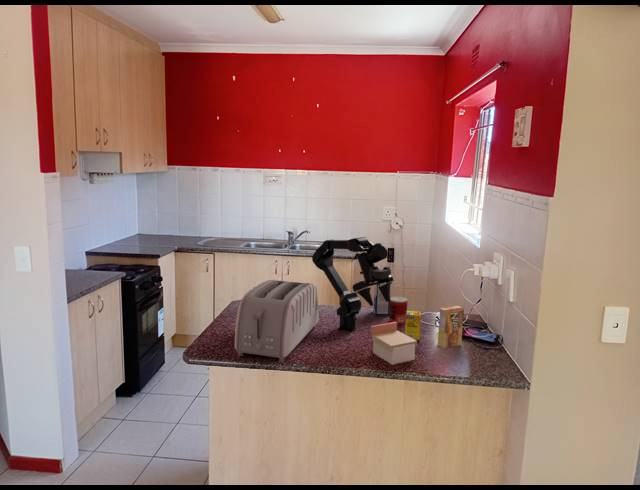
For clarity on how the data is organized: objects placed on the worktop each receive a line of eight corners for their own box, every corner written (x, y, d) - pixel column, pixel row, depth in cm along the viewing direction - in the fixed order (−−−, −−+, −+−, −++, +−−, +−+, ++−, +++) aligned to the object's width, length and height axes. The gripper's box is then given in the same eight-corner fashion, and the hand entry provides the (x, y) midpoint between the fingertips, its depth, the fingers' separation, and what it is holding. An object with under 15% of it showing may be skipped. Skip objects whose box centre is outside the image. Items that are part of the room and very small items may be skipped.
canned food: (408, 321, 215) (410, 298, 213) (402, 326, 208) (403, 302, 206) (393, 318, 219) (394, 295, 217) (386, 323, 212) (387, 299, 210)
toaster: (227, 360, 170) (226, 300, 166) (274, 321, 213) (274, 272, 209) (283, 368, 164) (284, 306, 160) (320, 326, 207) (321, 276, 203)
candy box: (454, 341, 191) (456, 305, 189) (461, 345, 188) (464, 308, 185) (436, 345, 188) (439, 307, 185) (444, 348, 184) (446, 311, 181)
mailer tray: (373, 352, 179) (373, 336, 178) (394, 348, 183) (395, 332, 182) (392, 365, 168) (392, 347, 167) (414, 360, 173) (415, 343, 172)
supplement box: (419, 341, 191) (421, 315, 189) (404, 340, 192) (405, 314, 190) (419, 336, 196) (421, 311, 194) (404, 335, 198) (406, 310, 196)
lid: (370, 339, 178) (371, 326, 177) (395, 335, 184) (395, 321, 183) (391, 352, 167) (391, 337, 166) (416, 346, 172) (417, 332, 171)
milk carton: (373, 311, 229) (374, 270, 225) (387, 311, 229) (389, 271, 225) (375, 315, 222) (376, 274, 218) (389, 316, 222) (391, 274, 218)
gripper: (364, 263, 180) (378, 302, 177) (396, 257, 192) (409, 294, 189) (346, 272, 188) (358, 310, 185) (378, 266, 200) (390, 301, 197)
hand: (380, 303), depth 189 cm, fingers open, 9 cm apart
